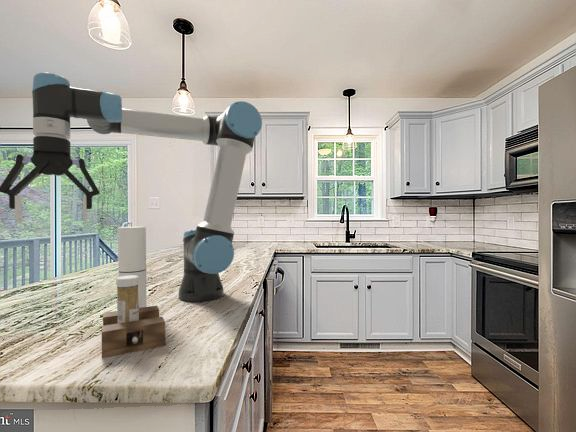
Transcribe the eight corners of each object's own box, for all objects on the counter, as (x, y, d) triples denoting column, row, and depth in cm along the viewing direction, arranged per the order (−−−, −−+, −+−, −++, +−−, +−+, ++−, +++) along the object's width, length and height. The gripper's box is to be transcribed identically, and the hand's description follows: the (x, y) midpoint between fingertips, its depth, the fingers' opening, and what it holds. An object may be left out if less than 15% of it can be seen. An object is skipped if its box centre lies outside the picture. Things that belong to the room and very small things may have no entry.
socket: (157, 324, 82) (156, 305, 82) (165, 345, 69) (165, 322, 69) (103, 332, 76) (103, 312, 76) (101, 357, 63) (101, 332, 63)
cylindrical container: (118, 319, 85) (117, 227, 85) (119, 312, 92) (118, 226, 92) (147, 315, 89) (146, 227, 88) (145, 308, 95) (145, 226, 95)
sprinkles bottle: (140, 336, 71) (140, 277, 71) (118, 341, 68) (117, 279, 68) (137, 330, 75) (137, 273, 75) (116, 334, 72) (115, 276, 72)
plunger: (139, 335, 71) (139, 324, 71) (141, 345, 65) (141, 334, 65) (127, 337, 70) (127, 326, 70) (128, 348, 64) (128, 336, 64)
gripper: (-20, 128, 70) (-19, 223, 70) (108, 140, 82) (109, 221, 82) (-9, 135, 77) (-8, 222, 77) (109, 146, 89) (110, 221, 89)
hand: (53, 222), depth 79 cm, fingers open, 13 cm apart
